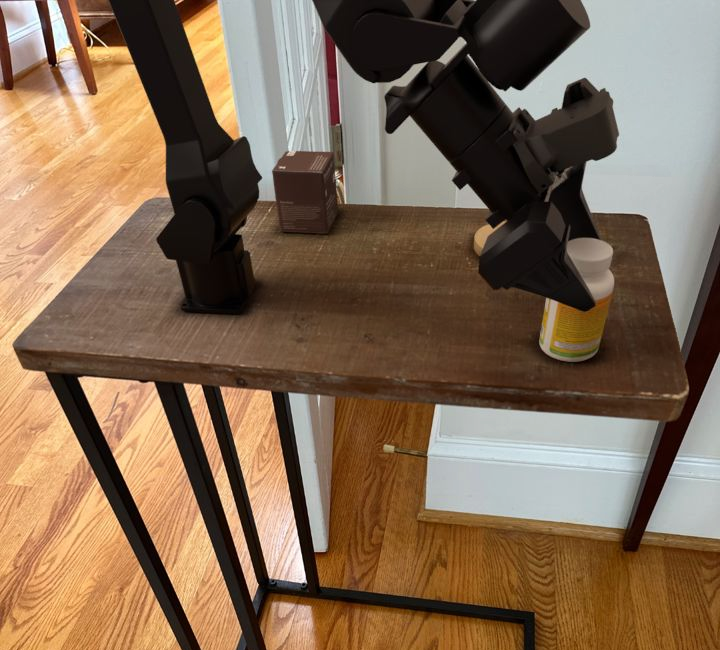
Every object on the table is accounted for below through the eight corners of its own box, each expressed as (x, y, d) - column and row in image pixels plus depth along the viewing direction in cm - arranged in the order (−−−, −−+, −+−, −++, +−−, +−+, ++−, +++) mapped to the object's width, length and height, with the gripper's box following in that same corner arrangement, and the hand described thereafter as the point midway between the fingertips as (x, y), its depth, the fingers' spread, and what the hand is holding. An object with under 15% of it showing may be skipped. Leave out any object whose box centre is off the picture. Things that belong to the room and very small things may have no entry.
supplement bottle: (610, 353, 63) (637, 254, 56) (562, 370, 61) (583, 271, 54) (573, 324, 66) (593, 227, 59) (526, 339, 65) (542, 242, 58)
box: (327, 235, 81) (322, 172, 75) (278, 232, 82) (270, 170, 76) (339, 212, 85) (335, 151, 80) (292, 210, 86) (285, 149, 81)
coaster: (472, 264, 75) (472, 253, 74) (475, 229, 80) (476, 219, 79) (547, 267, 74) (548, 256, 73) (545, 232, 79) (546, 222, 78)
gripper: (546, 96, 41) (687, 282, 47) (578, 17, 54) (687, 172, 59) (418, 211, 49) (551, 360, 54) (471, 119, 61) (576, 248, 66)
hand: (595, 279), depth 58 cm, fingers open, 9 cm apart
